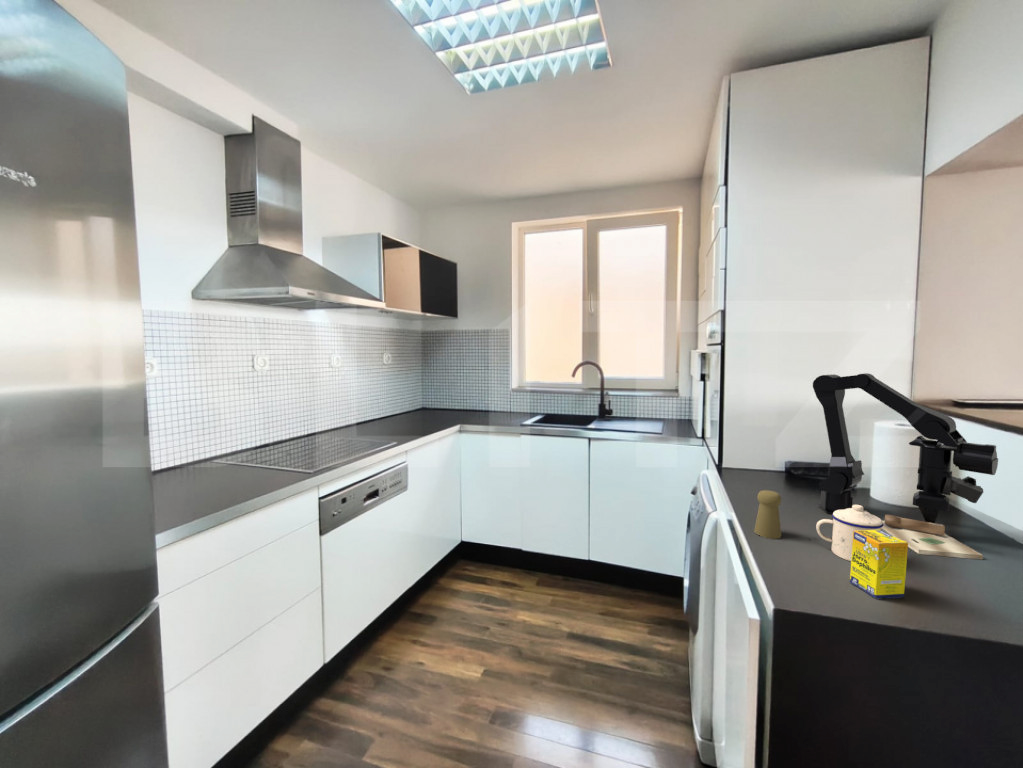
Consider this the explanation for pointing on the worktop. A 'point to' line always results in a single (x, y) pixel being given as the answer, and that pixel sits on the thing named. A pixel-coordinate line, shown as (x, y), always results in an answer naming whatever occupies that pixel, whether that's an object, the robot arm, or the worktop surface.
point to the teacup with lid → (848, 528)
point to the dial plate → (932, 543)
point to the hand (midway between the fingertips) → (930, 526)
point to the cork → (768, 515)
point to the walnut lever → (914, 524)
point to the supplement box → (878, 563)
